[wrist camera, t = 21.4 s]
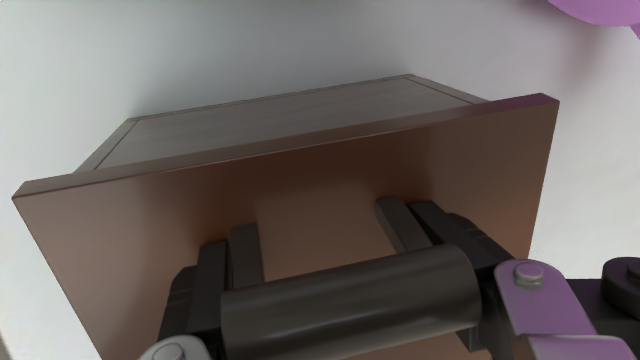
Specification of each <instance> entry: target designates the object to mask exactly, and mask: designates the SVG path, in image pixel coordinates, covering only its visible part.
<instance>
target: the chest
mask: <svg viewBox="0 0 640 360" xmlns="http://www.w3.org/2000/svg"><path fill="white" fill-rule="evenodd" d="M484 102H490V101H488V100H485V99H482V98H480V97H477V96H474V95H471V94H468V93H465V92H462V91H459V90H456V89H454V88H451V87H448V86H445V85H442V84H439V83H436V82H433V81H431V80H428V79H425V78H422V77H419V76H416V75H413V74H408V75H402V76H395V77H389V78H383V79H377V80H370V81H364V82H358V83H351V84H345V85H339V86H332V87H326V88H320V89H313V90H307V91H301V92H295V93H288V94H282V95H276V96H269V97H263V98H257V99H250V100H244V101H238V102H232V103H225V104H219V105H213V106H206V107H200V108H194V109H187V110H181V111H175V112H169V113H162V114H156V115H150V116H143V117H137V118H131V119H127V120H126V121H125V122H124V123H123V124H122V125H121V126H120V127H119V128H118V129H117V130H116V131H115V132H114V133H113V134H112V135H111V136H110V137H109V138H108V139H107V140H106V141H105V142H104V143H103V144H102V145H101V146H100V147H99V148H98V149H97V150H96V151H95V152H94V153H93V154H92V155H91V156H90V157H89V158H88V159H87V160H86V161H85V162H84V163H83V164H82V165H81V166H79V167H78V168H77V169H76V170H75V171H74V172H73V173H78V172H83V171H89V170H95V169H101V168H107V167H112V166H118V165H124V164H130V163H136V162H141V161H147V160H153V159H159V158H165V157H171V156H176V155H182V154H188V153H194V152H200V151H205V150H211V149H217V148H223V147H229V146H235V145H240V144H246V143H252V142H258V141H264V140H269V139H275V138H281V137H287V136H293V135H298V134H304V133H310V132H316V131H322V130H328V129H333V128H339V127H345V126H351V125H357V124H362V123H368V122H374V121H380V120H386V119H391V118H397V117H403V116H409V115H415V114H421V113H426V112H432V111H438V110H444V109H450V108H455V107H461V106H467V105H473V104H479V103H484Z"/></svg>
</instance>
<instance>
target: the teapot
mask: <svg viewBox="0 0 640 360" xmlns="http://www.w3.org/2000/svg"><path fill="white" fill-rule="evenodd" d="M548 1H549V2H550V3H551V4H553V5H554V6H556V7H557V8H559V9H560V10H561V11H563V12H564V13H566V14H568V15H570V16H572V17H574V18H576V19H578V20H581V21H584V22H587V23H591V24H595V25H603V26H630V27H631V29H632V30H633V31H634V33H635V34H636V35H637V37H638V38H639V39H640V0H548Z"/></svg>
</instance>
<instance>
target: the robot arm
mask: <svg viewBox="0 0 640 360" xmlns="http://www.w3.org/2000/svg"><path fill="white" fill-rule="evenodd" d="M406 206H407V208H408V209H409V211H410V212H411V213H412V215H413V216H414V218H415V219H416V221H417V222H418V223H419V225H420V226H421V228H422V229H423V230H424V232H425V233H426V235H427V236H428V237H429V239H430V240H431V242H432V243H433V244H434V246H435V245H440V244H444V243H453V244H455V245H457V246H458V247H459V248H460V249H461V250H462V251H463V252H464V253H465V255H466V256H467V258H468V259H469V261H470V263H471V265H472V267H473V269H474V272H475V274H476V277H477V280H478V283H479V287H480V291H481V296H482V305H483V311H482V318H481V321H480V322H479V324H478V325H476V326H475V327H472V328H468V329H464V330H460V331H456V332H455V333H456V334H457V336H458V337H459V339H460V340H461V342H462V343H463V344H464V346H465V347H466V349H467V350H468V351H469V353H473V352H477V351H481V350H485V349H487V350H488V351H489V353H490V354H491V360H640V258H638V257H618V258H614V259H611V260H609V261H607V262H606V263H605V264H604V266H603V270H602V277H601V279H565V278H564V276H563V275H562V273H561V272H559V271H558V270H557V269H556V268H554V267H552V266H550V265H548V264H546V263H543V262H540V261H536V260H531V259H516V258H515V257H513V256H512V255H511V254H510V253H509V252H507V251H506V250H505V249H504V248H503V247H501V246H500V245H499V244H498V243H497V242H495V241H494V240H493V239H492V238H491V237H488V235H487V234H486V233H485V232H483V231H482V230H481V229H480V230H479V227H477V226H476V225H475V224H474V223H473V222H471V221H470V220H469V219H468V218H465V217H463V216H460V215H458V214H455V213H453V212H451V213H446V212H445V211H443V210H442V209H441V208H440V207H439V206H438V205H437V204H436V203H435V202H433V201H432V200H427V201H422V202H417V203H412V204H407V205H406ZM231 289H232V257H231V250H230V246H229V243H228V241H222V242H217V243H212V244H207V245H202V246H200V249H199V255H198V261H197V265H193V266H188V267H184V268H182V270H181V271H180V272H179V273H178V274H177V275H176V277H175V278H174V279H173V280H172V284H171V288H170V292H169V296H168V299H167V303H166V305H167V307H165V311H164V315H163V319H162V323H161V327H160V331H159V335H158V339H157V343H156V344H154V345H153V346H151V347H150V348H148V349H147V350H146V351H145V352H144V353H143V354H142V355H141V356H140V357H139V358H138V359H137V360H226V358H225V353H224V347H223V340H222V333H221V323H220V298H221V294H222V292H224V291H226V290H231Z"/></svg>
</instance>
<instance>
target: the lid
mask: <svg viewBox="0 0 640 360" xmlns="http://www.w3.org/2000/svg"><path fill="white" fill-rule="evenodd" d="M559 104H560V101H558V100H556V99H554V98H552V97H550V96H547V95H545V94H543V93H537V94H531V95H525V96H519V97H514V98H508V99H502V100H496V101H490V102H484V103H479V104H473V105H467V106H461V107H455V108H450V109H444V110H438V111H432V112H426V113H421V114H415V115H409V116H403V117H397V118H391V119H386V120H380V121H374V122H368V123H362V124H357V125H351V126H345V127H339V128H333V129H328V130H322V131H316V132H310V133H304V134H298V135H293V136H287V137H281V138H275V139H269V140H264V141H258V142H252V143H246V144H240V145H235V146H229V147H223V148H217V149H211V150H205V151H200V152H194V153H188V154H182V155H176V156H171V157H165V158H159V159H153V160H147V161H141V162H136V163H130V164H124V165H118V166H112V167H107V168H101V169H95V170H89V171H83V172H78V173H72V174H66V175H60V176H54V177H48V178H43V179H37V180H31V181H25V182H24V183H23V184H22V185H21V187H20V188H19V189H18V190H17V191H16V193H15V194H14V195H13V196H12V201H13V202H14V204H15V206H16V208H17V210H18V211H19V213H20V215H21V217H22V218H23V220H24V222H25V224H26V226H27V227H28V229H29V231H30V233H31V234H32V236H33V238H34V240H35V242H36V243H37V245H38V247H39V249H40V250H41V252H42V254H43V256H44V258H45V259H46V261H47V263H48V265H49V266H50V268H51V270H52V272H53V274H54V275H55V277H56V279H57V281H58V282H59V284H60V286H61V288H62V289H63V291H64V293H65V295H66V297H67V298H68V300H69V302H70V304H71V305H72V307H73V309H74V311H75V313H76V314H77V316H78V318H79V320H80V321H81V323H82V325H83V327H84V329H85V330H86V332H87V334H88V336H89V337H90V339H91V341H92V343H93V345H94V346H95V348H96V350H97V352H98V353H99V355H100V357H101V359H102V360H137V359H138V358H139V357H140V356H141V355H142V354H143V353H144V352H145V351H146V350H147V349H148V348H150V347H151V346H153V345H154V344H156V343H157V339H158V335H159V331H160V327H161V323H162V319H163V315H164V311H165V307H167V305H166V303H167V299H168V296H169V292H170V288H171V284H172V280H173V279H174V278H175V277H176V275H177V274H178V273H179V272H180V271H181V270H182V268H184V267H188V266H193V265H197V261H198V255H199V249H200V246H202V245H207V244H212V243H217V242H222V241H228V243H229V246H230V250H231V257H232V289H231V290H226V291H224V292H222V294H221V298H220V323H221V333H222V340H223V347H224V353H225V358H226V360H491V354H490V353H489V351H488V350H487V349H485V350H481V351H477V352H473V353H469V351H468V350H467V349H466V347H465V346H464V344H463V343H462V342H461V340H460V339H459V337H458V336H457V334H456V333H455V332H456V331H460V330H464V329H468V328H472V327H475V326H476V325H478V324H479V322H480V321H481V318H482V311H483V305H482V296H481V291H480V287H479V283H478V280H477V277H476V274H475V272H474V269H473V267H472V265H471V263H470V261H469V259H468V258H467V256H466V255H465V253H464V252H463V251H462V250H461V249H460V248H459V247H458V246H457V245H455V244H453V243H444V244H440V245H435V246H434V244H433V243H432V242H431V240H430V239H429V237H428V236H427V235H426V233H425V232H424V230H423V229H422V228H421V226H420V225H419V223H418V222H417V221H416V219H415V218H414V216H413V215H412V213H411V212H410V211H409V209H408V208H407V206H406V205H407V204H412V203H417V202H422V201H427V200H432V201H433V202H435V203H436V204H437V205H438V206H439V207H440V208H441V209H442V210H443V211H445V212H446V213H451V212H453V213H455V214H458V215H460V216H463V217H465V218H468V219H469V220H470V221H471V222H473V223H474V224H475V225H476V226H477V227H479V230H480V229H481V230H482V231H483V232H485V233H486V234H487V235H488V237H491V238H492V239H493V240H494V241H495V242H497V243H498V244H499V245H500V246H501V247H503V248H504V249H505V250H506V251H507V252H509V253H510V254H511V255H512V256H513V257H515V258H516V259H528V255H529V250H530V245H531V240H532V235H533V230H534V226H535V221H536V216H537V211H538V206H539V201H540V196H541V192H542V187H543V182H544V177H545V172H546V167H547V162H548V158H549V153H550V148H551V143H552V138H553V133H554V129H555V124H556V119H557V114H558V109H559Z"/></svg>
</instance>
